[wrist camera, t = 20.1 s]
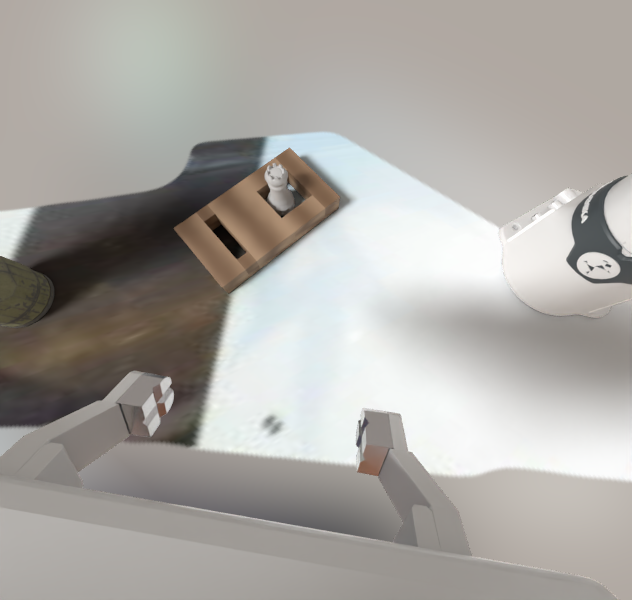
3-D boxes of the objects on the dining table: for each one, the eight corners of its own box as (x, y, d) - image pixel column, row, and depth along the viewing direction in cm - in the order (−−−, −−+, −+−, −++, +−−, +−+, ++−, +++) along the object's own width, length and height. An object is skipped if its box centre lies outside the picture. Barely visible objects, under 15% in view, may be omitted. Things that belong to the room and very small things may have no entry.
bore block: (290, 161, 48) (289, 147, 45) (338, 208, 45) (340, 196, 43) (182, 238, 44) (173, 228, 41) (228, 293, 41) (222, 287, 39)
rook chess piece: (282, 188, 46) (276, 151, 39) (301, 205, 46) (298, 171, 38) (262, 204, 45) (251, 169, 38) (280, 222, 45) (273, 191, 37)
